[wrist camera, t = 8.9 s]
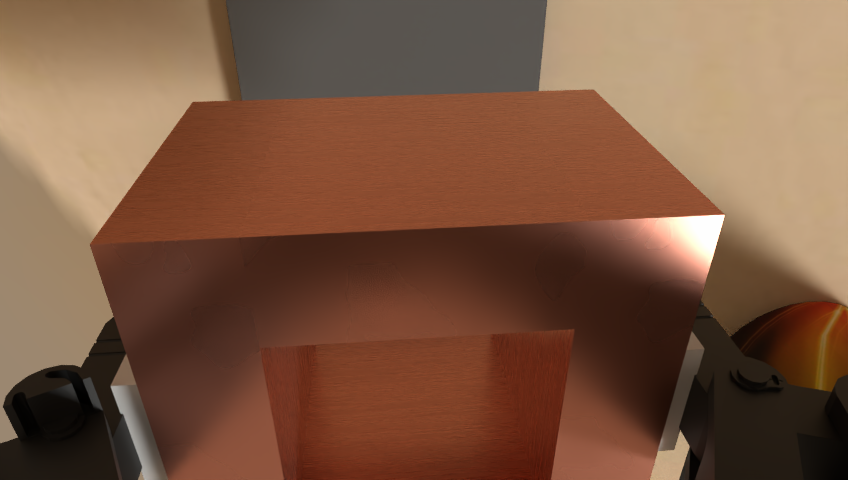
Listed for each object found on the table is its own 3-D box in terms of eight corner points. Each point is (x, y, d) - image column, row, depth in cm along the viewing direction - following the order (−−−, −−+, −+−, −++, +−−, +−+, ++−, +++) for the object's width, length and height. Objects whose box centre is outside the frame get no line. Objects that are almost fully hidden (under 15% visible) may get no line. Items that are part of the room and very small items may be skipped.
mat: (222, -50, 22) (217, -47, 22) (546, -54, 23) (552, -51, 23) (267, 233, 29) (265, 242, 28) (521, 222, 30) (524, 230, 29)
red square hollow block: (192, 101, 14) (89, 244, 8) (593, 89, 14) (724, 214, 9) (253, 398, 18) (210, 606, 13) (552, 379, 19) (624, 569, 14)
